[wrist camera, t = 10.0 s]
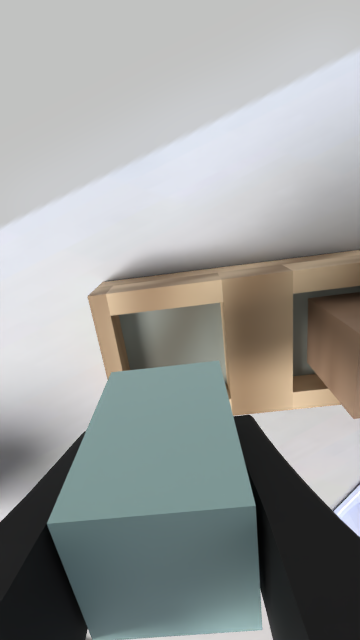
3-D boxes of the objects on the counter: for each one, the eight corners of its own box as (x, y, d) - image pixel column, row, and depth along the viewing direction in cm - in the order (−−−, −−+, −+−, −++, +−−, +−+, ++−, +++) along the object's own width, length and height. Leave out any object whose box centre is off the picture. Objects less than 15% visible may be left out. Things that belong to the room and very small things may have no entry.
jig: (465, 236, 15) (524, 242, 12) (441, 362, 17) (486, 389, 15) (102, 282, 16) (87, 296, 13) (127, 396, 18) (119, 427, 15)
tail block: (219, 360, 10) (256, 505, 5) (226, 446, 11) (261, 630, 6) (111, 372, 10) (46, 523, 5) (130, 456, 11) (93, 641, 6)
